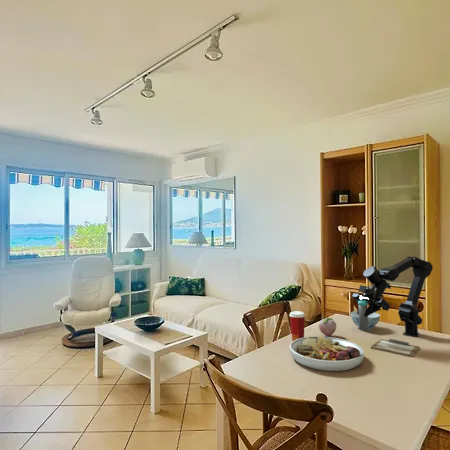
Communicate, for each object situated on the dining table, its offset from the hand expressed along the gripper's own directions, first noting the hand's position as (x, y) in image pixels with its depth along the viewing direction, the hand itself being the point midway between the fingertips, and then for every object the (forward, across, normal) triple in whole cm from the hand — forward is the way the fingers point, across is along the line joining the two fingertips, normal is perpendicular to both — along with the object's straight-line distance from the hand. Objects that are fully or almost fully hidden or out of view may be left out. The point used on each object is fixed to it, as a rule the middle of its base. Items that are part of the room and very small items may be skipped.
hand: (361, 315), depth 157 cm
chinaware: (-4, -18, +24) cm, 31 cm away
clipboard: (+3, +11, +16) cm, 19 cm away
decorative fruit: (+15, -16, +4) cm, 22 cm away
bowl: (+29, +7, -10) cm, 32 cm away
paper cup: (+27, -16, -8) cm, 33 cm away
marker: (+4, 0, +6) cm, 7 cm away
